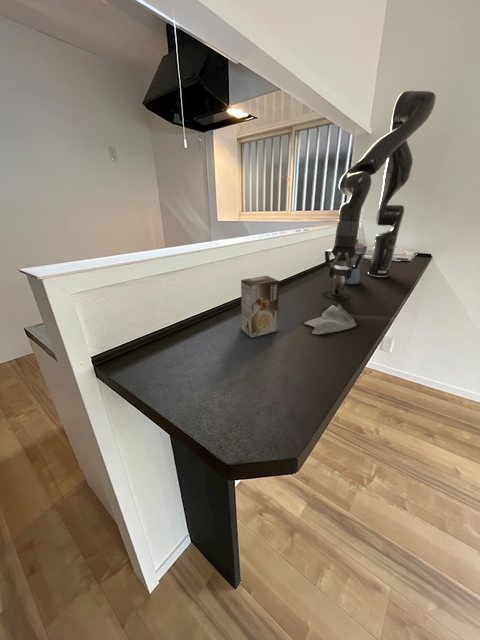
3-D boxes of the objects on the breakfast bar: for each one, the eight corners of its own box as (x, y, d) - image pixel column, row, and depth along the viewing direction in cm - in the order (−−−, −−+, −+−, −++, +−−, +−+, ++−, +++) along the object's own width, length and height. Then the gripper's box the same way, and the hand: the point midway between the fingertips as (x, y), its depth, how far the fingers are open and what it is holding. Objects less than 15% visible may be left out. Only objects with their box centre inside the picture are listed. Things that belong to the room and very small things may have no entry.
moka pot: (337, 286, 120) (344, 240, 111) (339, 277, 132) (345, 235, 124) (359, 288, 116) (369, 242, 108) (359, 279, 129) (367, 237, 121)
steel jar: (331, 291, 111) (335, 265, 106) (344, 293, 109) (348, 266, 104) (328, 296, 105) (332, 269, 100) (342, 298, 103) (347, 271, 98)
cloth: (338, 342, 74) (339, 335, 73) (295, 327, 82) (296, 321, 81) (369, 314, 91) (370, 308, 90) (331, 304, 100) (332, 298, 99)
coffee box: (265, 323, 85) (268, 274, 78) (277, 331, 80) (280, 280, 73) (240, 329, 81) (240, 279, 74) (251, 338, 76) (251, 285, 69)
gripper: (368, 233, 97) (359, 277, 104) (328, 231, 103) (323, 273, 111) (367, 235, 91) (358, 282, 98) (324, 233, 97) (319, 278, 105)
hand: (339, 277), depth 104 cm, fingers closed on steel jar, 5 cm apart
